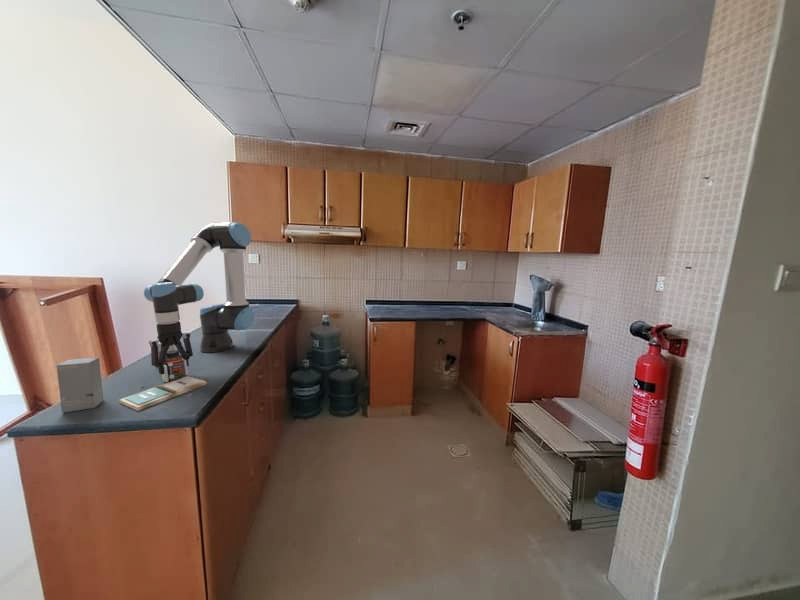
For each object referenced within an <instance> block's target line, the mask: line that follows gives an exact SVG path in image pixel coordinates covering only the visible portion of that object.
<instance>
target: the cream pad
mask: <svg viewBox="0 0 800 600" xmlns="http://www.w3.org/2000/svg"><path fill="white" fill-rule="evenodd" d="M184 377H185V378H182V379H179V380H177V381H174V382H172V381H170V382H171V383H169V382H167V383H168V384H166V383H164V384H165V385H163V384H161V385H162V386H163V387H165V388H168V389H171V390H174V391H177V390H180V389H183V388H185V387H188V386H191V385H193V384H196V383H199V382H201V381H200V380H201V379H200V380H197V379H198V378H197V379H193V378H190V377H191V376H190V377H186V376H184Z"/></svg>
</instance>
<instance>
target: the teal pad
mask: <svg viewBox="0 0 800 600" xmlns="http://www.w3.org/2000/svg"><path fill="white" fill-rule="evenodd" d="M153 388H154V387H153ZM150 389H151V388H150ZM147 390H148V391H146V390H144V391H145V392H143V391H141V392H142V393H140V392H138V393H139V394H137V393H135V394H136V395H134V394H133V395H134V396H131V395H130V396H131V397H128V396H127V397H128V398H125V397H124V398H125V400H128V401H130V402H133V403H135V404H137V405H140V404H143V403H146V402H148V401H151V400H154V399H156V398H159V397H162V396H164V395H167V394H169V392H166V391H163V390H160V389H157V388H154V389H151V390H149V389H147Z"/></svg>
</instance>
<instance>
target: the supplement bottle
mask: <svg viewBox="0 0 800 600" xmlns="http://www.w3.org/2000/svg"><path fill="white" fill-rule="evenodd" d="M165 365H166V366H167V372H168V379H169V381H170V382H172V381H175V380H177V379H180V378H183V377H185V375H184V367H183V358H182V356H181V355H180V353H179V351H178V349H175V350H172V351H168V352H167V357H166V359H165Z"/></svg>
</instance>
